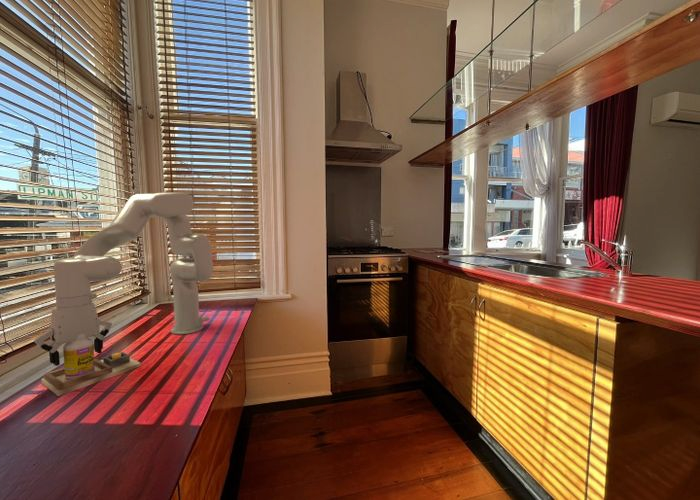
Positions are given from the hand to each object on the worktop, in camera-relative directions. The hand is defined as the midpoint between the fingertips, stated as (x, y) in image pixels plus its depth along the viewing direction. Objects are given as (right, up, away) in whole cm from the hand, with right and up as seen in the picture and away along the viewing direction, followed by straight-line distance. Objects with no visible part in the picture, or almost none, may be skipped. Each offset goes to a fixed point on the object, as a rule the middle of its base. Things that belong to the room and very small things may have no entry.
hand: (78, 358), depth 89 cm
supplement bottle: (0, -6, +1) cm, 6 cm away
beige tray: (+2, -6, +4) cm, 7 cm away
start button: (+5, -4, +9) cm, 11 cm away
